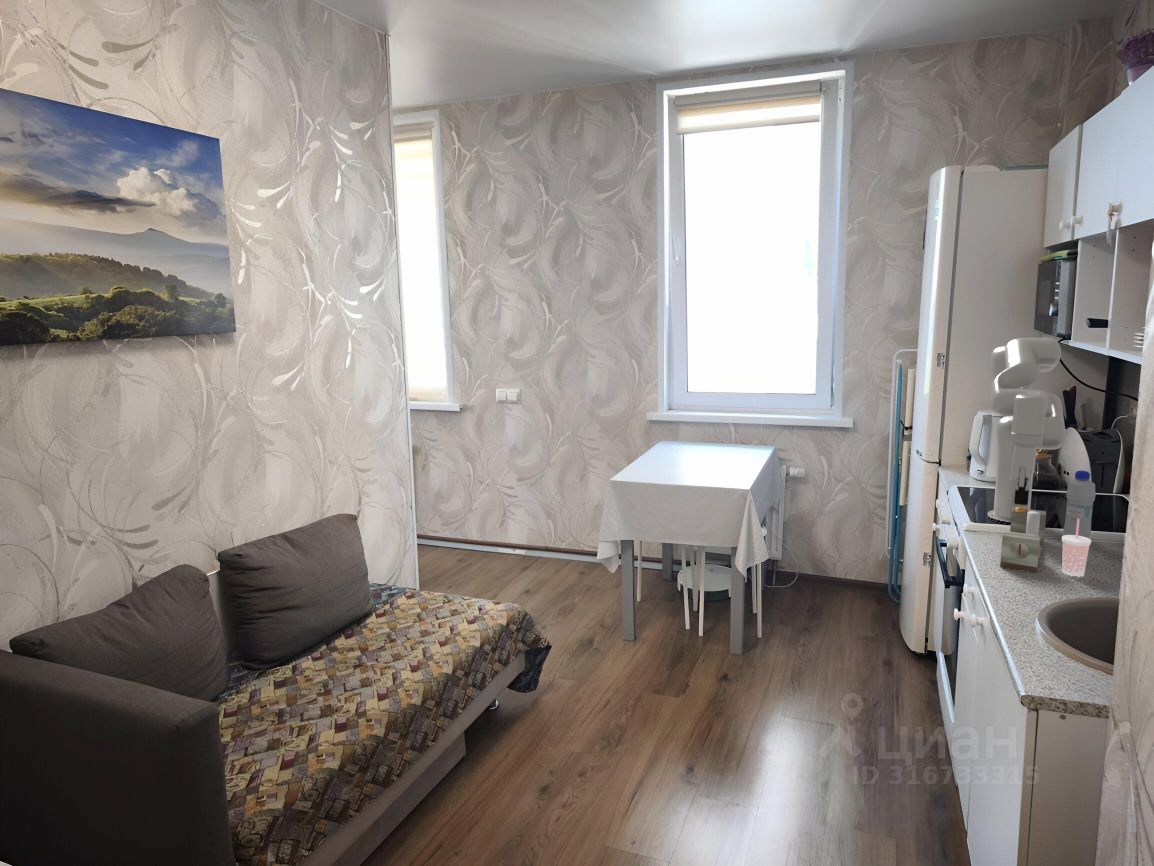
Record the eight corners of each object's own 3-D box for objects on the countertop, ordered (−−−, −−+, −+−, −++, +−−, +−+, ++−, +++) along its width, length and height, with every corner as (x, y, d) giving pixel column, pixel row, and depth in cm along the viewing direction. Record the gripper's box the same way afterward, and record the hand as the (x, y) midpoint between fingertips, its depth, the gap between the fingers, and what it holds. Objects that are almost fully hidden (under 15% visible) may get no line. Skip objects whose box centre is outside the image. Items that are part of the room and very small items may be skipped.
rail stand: (1010, 536, 218) (1013, 507, 217) (1043, 541, 214) (1046, 511, 213) (999, 567, 195) (1002, 535, 194) (1036, 573, 191) (1039, 540, 189)
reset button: (1014, 520, 217) (1015, 506, 216) (1025, 521, 215) (1026, 507, 214) (1013, 522, 214) (1015, 508, 214) (1024, 523, 213) (1025, 509, 212)
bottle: (1056, 540, 215) (1063, 469, 211) (1071, 535, 218) (1077, 466, 214) (1081, 546, 209) (1088, 474, 205) (1096, 542, 212) (1103, 471, 208)
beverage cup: (1071, 567, 194) (1076, 514, 192) (1093, 576, 188) (1099, 521, 186) (1052, 571, 192) (1057, 516, 190) (1074, 579, 187) (1080, 523, 184)
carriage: (1007, 546, 203) (1010, 507, 201) (1037, 550, 199) (1041, 511, 197) (1005, 551, 199) (1008, 512, 197) (1036, 556, 195) (1040, 516, 193)
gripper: (1013, 432, 219) (1008, 495, 222) (1008, 443, 207) (1002, 509, 210) (1044, 435, 215) (1038, 498, 218) (1040, 446, 202) (1034, 513, 206)
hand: (1020, 503), depth 214 cm, fingers closed
